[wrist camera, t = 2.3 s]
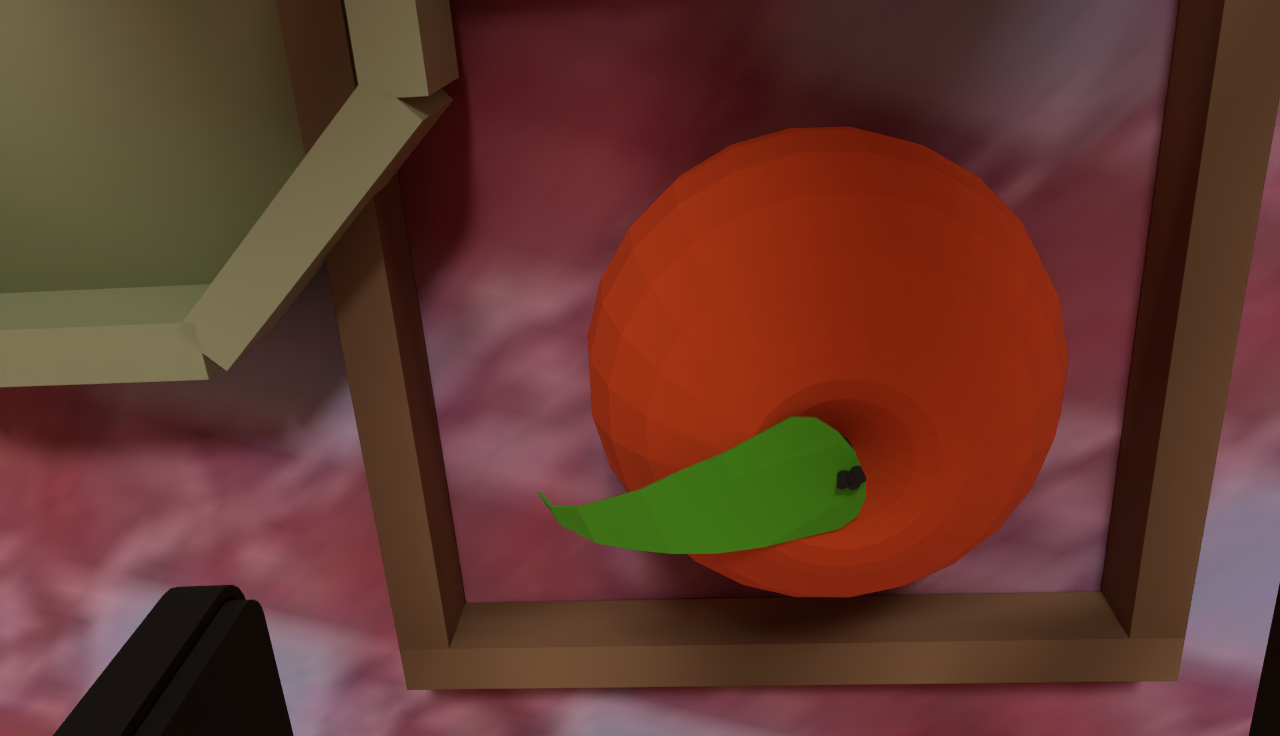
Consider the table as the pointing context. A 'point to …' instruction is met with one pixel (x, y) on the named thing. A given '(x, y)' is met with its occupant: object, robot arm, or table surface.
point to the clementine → (822, 366)
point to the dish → (184, 175)
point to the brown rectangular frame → (861, 625)
